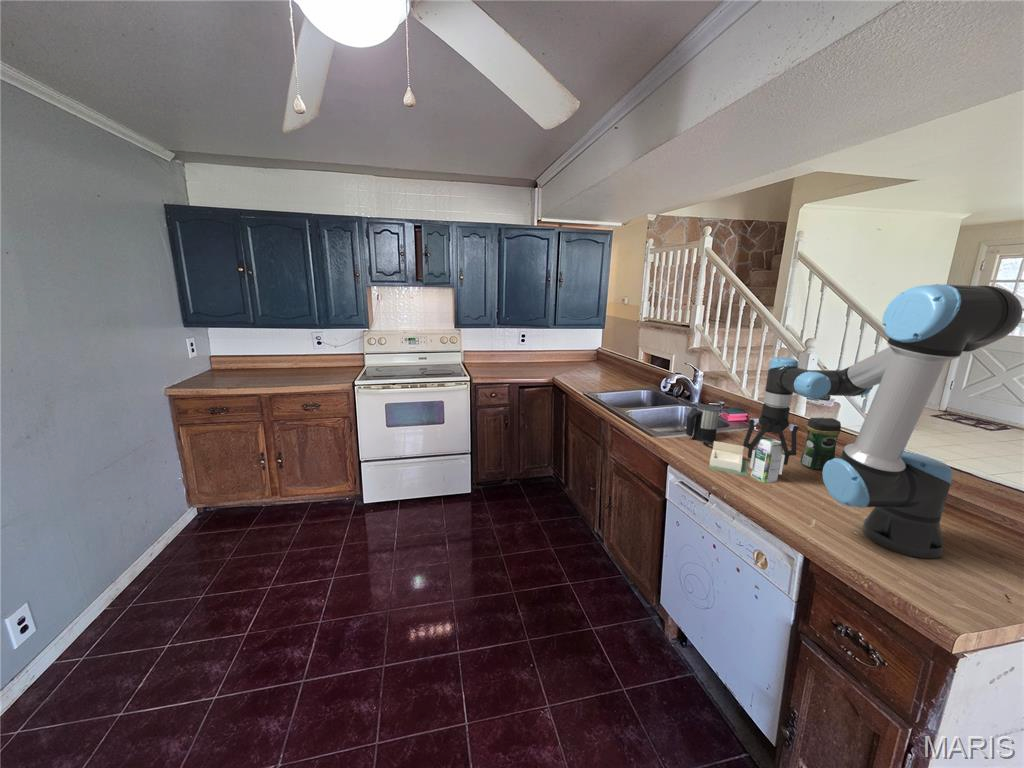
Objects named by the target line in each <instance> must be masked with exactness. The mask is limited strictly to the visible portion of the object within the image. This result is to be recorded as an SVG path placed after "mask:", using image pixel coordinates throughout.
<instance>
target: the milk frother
mask: <svg viewBox="0 0 1024 768" xmlns="http://www.w3.org/2000/svg"><path fill="white" fill-rule="evenodd" d="M696 407H697V409H695V410H694V409H692V410H691V411H690V412H688V414H687V416H686V426H685V433H686V434H685V435H687V436H689V437H692V440H694V441H697V442H702V443H706V444H708V445H710V446H712V447H713V444H714V441H717V440H716V436H717V430H718V429H717V428H718V423H719V422H718V421H719V416H720V410H721V407H719V406H716V405H711V404H704V403H702V404H701V403H700V404H697V405H696Z"/></svg>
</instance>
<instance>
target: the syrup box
mask: <svg viewBox="0 0 1024 768" xmlns="http://www.w3.org/2000/svg"><path fill="white" fill-rule="evenodd" d="M754 448H755V456H754V462H753V468H752V469H751V472H750V477H752V478H754V479H755V480H757V481H759V482H762V483H763V484H769V483H775V482H778V477H779V467H780V462H781V456H782V453H783V452H784V450H783V447H782V444H781V440H778V439H775V438H772V437H769V436H762V437H761V439H760V440H759V442H758V443H757V444H756V446H755V447H754Z"/></svg>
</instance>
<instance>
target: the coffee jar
mask: <svg viewBox="0 0 1024 768" xmlns="http://www.w3.org/2000/svg"><path fill="white" fill-rule="evenodd" d="M841 427H842V424H841V421H840V420H837V419H836V418H832V417H810V418H809V419H808V421H807V424H806V429H807V437H806V441H805V445H804V448H803V451H802V454H801V458H800V463H801V464H802V466H803V467H806V468H810V469H811V470H818V471H823V467H824V465H825V463H826V462H827V461H829V460H832V459H834V458H836V448H837V447H836V446H837V440H838V437H839V435H840V434H841V430H842V429H841Z"/></svg>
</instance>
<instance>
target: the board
mask: <svg viewBox="0 0 1024 768" xmlns="http://www.w3.org/2000/svg"><path fill="white" fill-rule="evenodd" d="M748 464H749V462H748V459H743V458H742V467H741V472H736V471H731V470H726V469H721V468H716V467H711V466H709V465H708V469H711V470H716V471H721V472H724V473H725V472H726V473H730V474H735V475H740V476H745V477H747V476H748Z"/></svg>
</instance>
